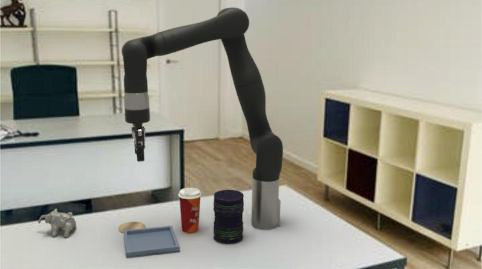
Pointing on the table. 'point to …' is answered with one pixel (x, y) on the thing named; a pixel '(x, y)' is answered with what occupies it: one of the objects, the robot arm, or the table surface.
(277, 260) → the table surface
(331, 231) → the table surface
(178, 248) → the tray
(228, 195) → the storage jar
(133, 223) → the cork coaster
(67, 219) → the elephant statuette
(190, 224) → the paper cup
